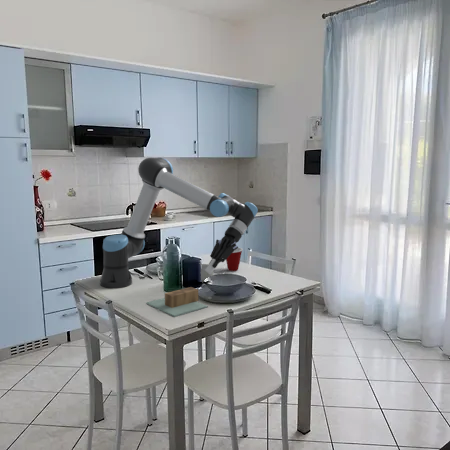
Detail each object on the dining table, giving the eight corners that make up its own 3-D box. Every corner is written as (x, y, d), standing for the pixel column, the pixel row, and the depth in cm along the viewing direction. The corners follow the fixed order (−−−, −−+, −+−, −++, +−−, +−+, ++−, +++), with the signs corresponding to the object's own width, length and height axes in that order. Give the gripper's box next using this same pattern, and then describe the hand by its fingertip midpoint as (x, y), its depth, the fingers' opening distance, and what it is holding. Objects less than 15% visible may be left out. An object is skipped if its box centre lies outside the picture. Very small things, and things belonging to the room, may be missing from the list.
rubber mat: (146, 303, 179) (146, 302, 179) (178, 295, 190) (178, 294, 190) (174, 317, 165) (174, 315, 164) (207, 307, 176) (207, 305, 176)
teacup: (202, 277, 221) (202, 262, 220) (218, 281, 214) (218, 265, 213) (183, 282, 210) (183, 267, 209) (199, 287, 203) (199, 271, 202)
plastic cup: (220, 267, 240) (220, 247, 239) (238, 266, 244) (238, 246, 242) (226, 272, 230) (226, 251, 228) (244, 271, 233) (245, 250, 232)
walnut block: (191, 297, 186) (164, 304, 176) (191, 286, 185) (164, 293, 175) (198, 300, 182) (171, 307, 173) (198, 289, 181) (171, 296, 172)
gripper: (249, 238, 192) (221, 280, 183) (229, 234, 201) (202, 274, 193) (241, 228, 188) (212, 270, 179) (221, 224, 197) (193, 264, 189)
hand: (207, 272), depth 186 cm, fingers closed
